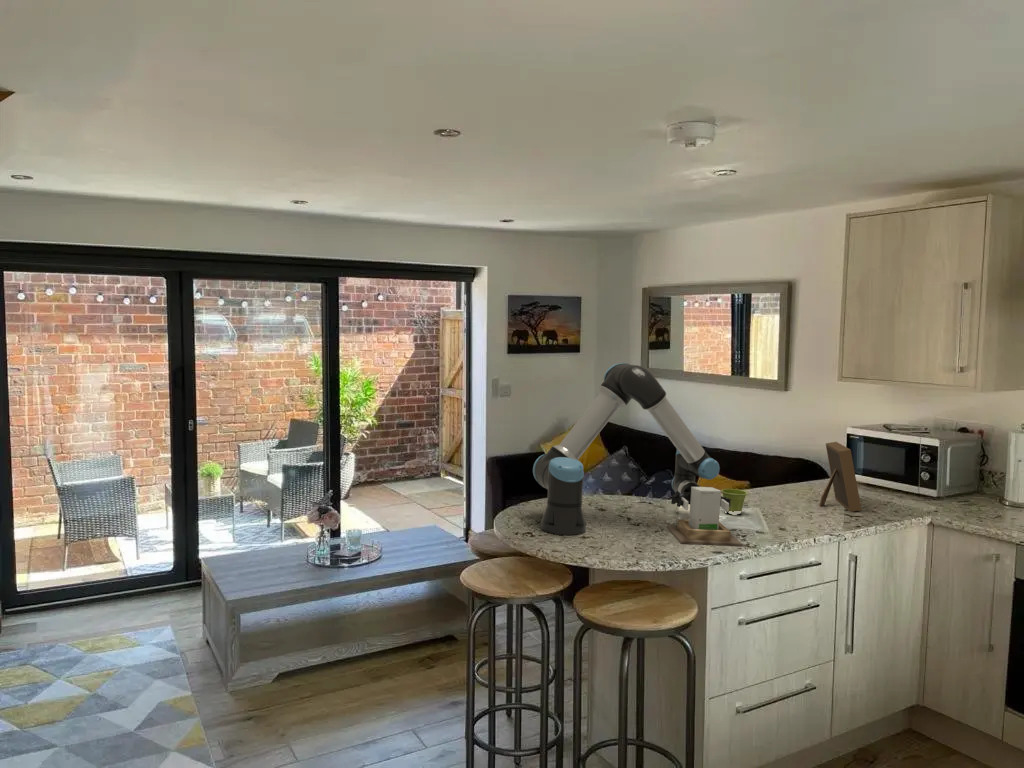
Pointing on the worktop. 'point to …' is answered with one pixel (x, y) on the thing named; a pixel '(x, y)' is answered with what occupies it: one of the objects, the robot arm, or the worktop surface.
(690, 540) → the socket board
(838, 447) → the photo frame
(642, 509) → the worktop surface
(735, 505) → the plant pot
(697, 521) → the skincare box
